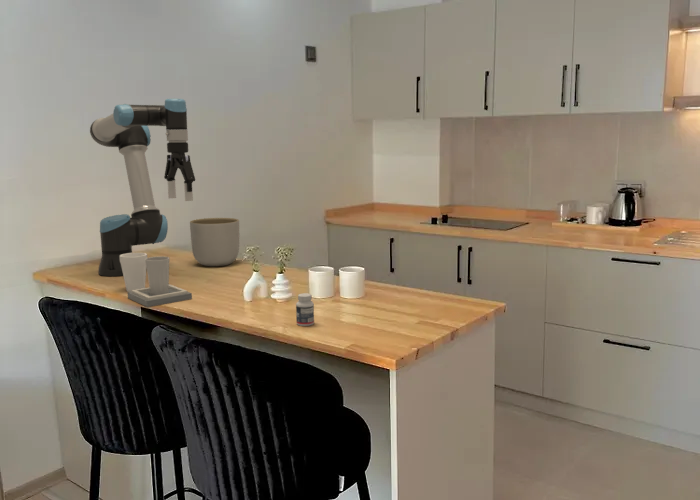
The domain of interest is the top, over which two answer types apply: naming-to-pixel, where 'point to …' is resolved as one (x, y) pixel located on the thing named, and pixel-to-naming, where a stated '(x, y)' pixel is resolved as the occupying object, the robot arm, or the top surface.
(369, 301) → the top surface
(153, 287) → the cup
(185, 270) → the top surface
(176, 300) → the grey square tray
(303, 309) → the pill bottle
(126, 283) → the foam cup
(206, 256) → the planter
